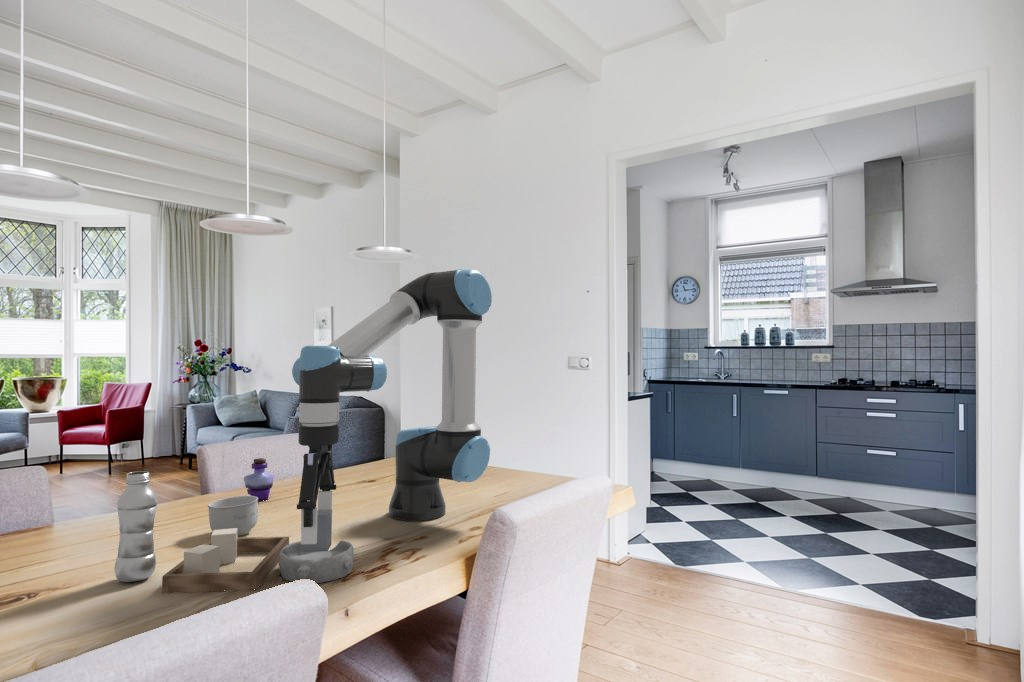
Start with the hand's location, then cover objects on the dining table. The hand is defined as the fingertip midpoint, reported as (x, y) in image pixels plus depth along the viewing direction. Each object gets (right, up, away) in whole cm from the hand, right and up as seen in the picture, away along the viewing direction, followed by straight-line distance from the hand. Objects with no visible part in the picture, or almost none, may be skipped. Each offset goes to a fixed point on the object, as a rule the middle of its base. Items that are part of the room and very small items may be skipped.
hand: (317, 532), depth 116 cm
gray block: (0, -3, 0) cm, 3 cm away
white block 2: (-21, -8, +6) cm, 24 cm away
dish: (0, -8, 0) cm, 8 cm away
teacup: (-28, -9, +26) cm, 39 cm away
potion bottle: (-36, -9, +57) cm, 68 cm away
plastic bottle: (-33, -8, -5) cm, 34 cm away
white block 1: (-20, -8, -5) cm, 22 cm away
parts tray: (-17, -8, +1) cm, 19 cm away
